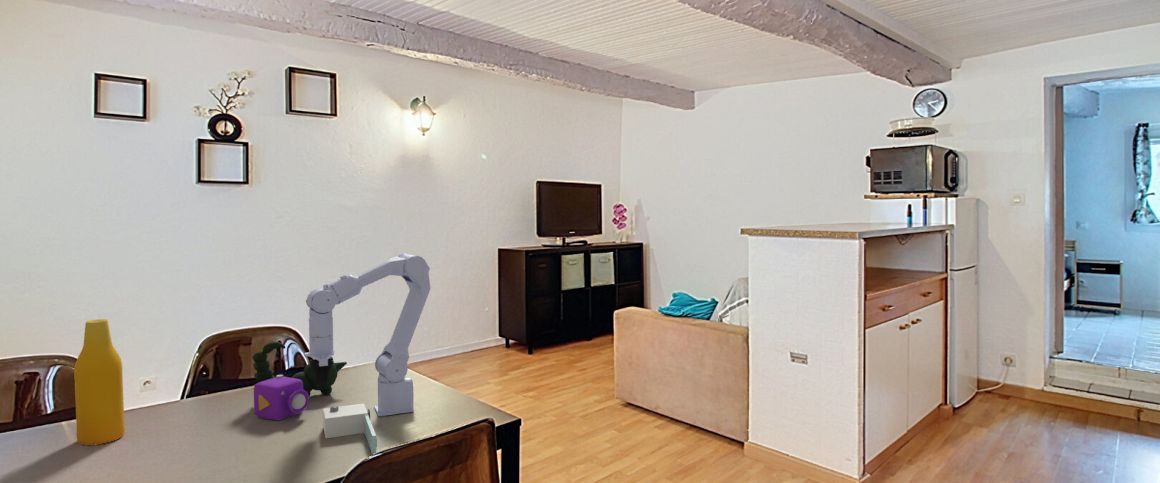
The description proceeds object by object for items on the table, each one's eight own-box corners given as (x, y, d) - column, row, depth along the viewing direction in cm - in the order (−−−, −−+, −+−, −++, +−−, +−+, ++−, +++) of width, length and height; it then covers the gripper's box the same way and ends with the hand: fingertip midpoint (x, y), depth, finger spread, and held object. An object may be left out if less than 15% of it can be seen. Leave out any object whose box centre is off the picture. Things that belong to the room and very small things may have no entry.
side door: (364, 432, 155) (364, 414, 155) (369, 432, 155) (368, 413, 155) (372, 455, 141) (372, 435, 141) (377, 455, 142) (377, 434, 141)
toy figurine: (261, 415, 172) (353, 392, 185) (252, 349, 169) (346, 331, 183) (257, 405, 179) (346, 384, 193) (249, 342, 177) (339, 326, 191)
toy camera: (293, 424, 160) (292, 387, 160) (247, 420, 163) (246, 383, 162) (318, 411, 171) (318, 375, 170) (275, 407, 174) (274, 372, 173)
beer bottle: (84, 434, 152) (79, 318, 150) (129, 429, 155) (125, 316, 153) (70, 448, 143) (65, 325, 141) (119, 443, 147) (114, 323, 145)
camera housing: (368, 421, 163) (367, 399, 163) (372, 431, 156) (372, 409, 156) (323, 427, 159) (322, 405, 158) (325, 438, 151) (325, 415, 151)
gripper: (303, 331, 164) (304, 380, 165) (305, 342, 151) (306, 396, 152) (331, 328, 167) (332, 377, 168) (336, 340, 154) (337, 393, 155)
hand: (322, 386), depth 160 cm, fingers closed
